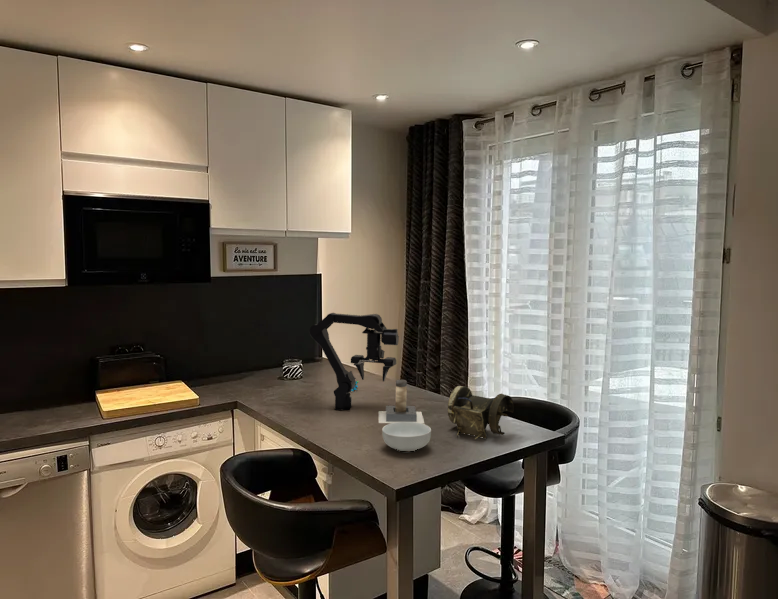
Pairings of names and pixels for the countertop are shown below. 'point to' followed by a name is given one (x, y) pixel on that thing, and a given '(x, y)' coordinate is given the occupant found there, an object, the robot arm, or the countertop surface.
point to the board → (383, 420)
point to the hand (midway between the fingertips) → (373, 380)
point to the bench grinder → (477, 411)
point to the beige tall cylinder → (401, 395)
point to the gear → (355, 386)
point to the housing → (401, 414)
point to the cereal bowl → (406, 435)
